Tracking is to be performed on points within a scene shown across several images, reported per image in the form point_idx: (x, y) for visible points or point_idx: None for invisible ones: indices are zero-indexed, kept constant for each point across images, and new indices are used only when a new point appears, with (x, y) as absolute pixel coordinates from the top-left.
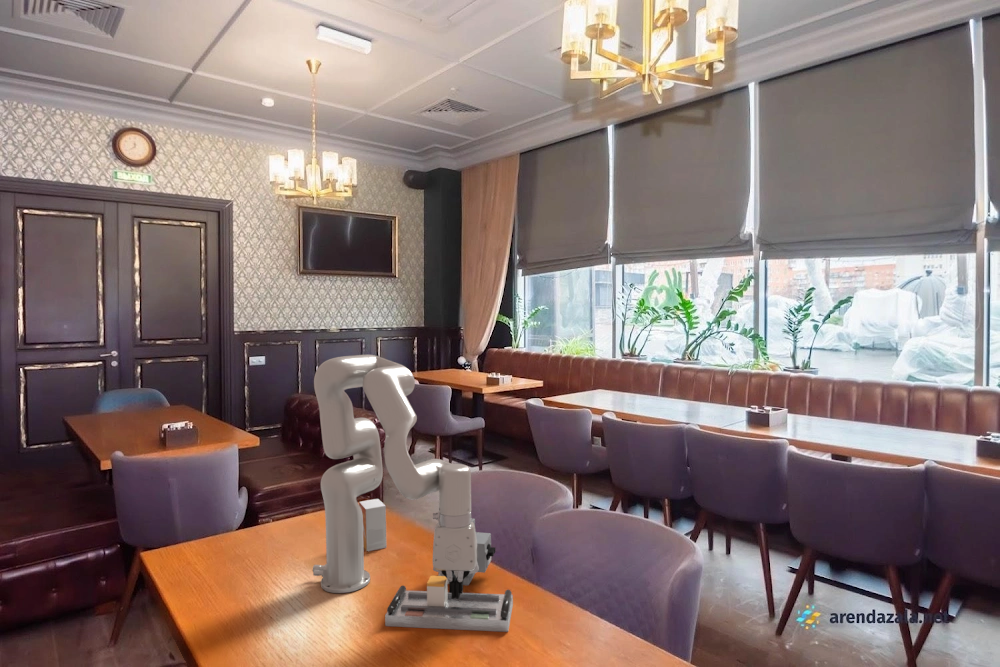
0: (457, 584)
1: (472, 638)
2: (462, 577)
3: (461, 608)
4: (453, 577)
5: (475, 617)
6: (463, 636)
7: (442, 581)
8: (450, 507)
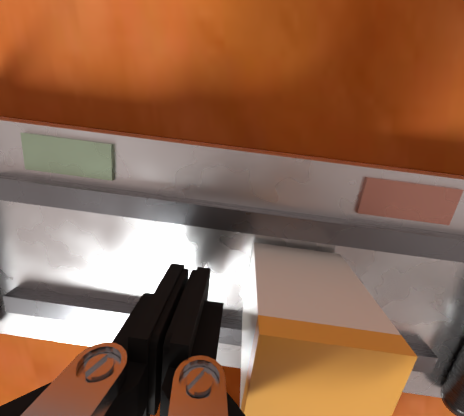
0: (141, 324)
1: (118, 63)
2: (59, 380)
3: (160, 210)
4: (166, 400)
5: (85, 141)
6: (159, 82)
7: (273, 373)
8: None
